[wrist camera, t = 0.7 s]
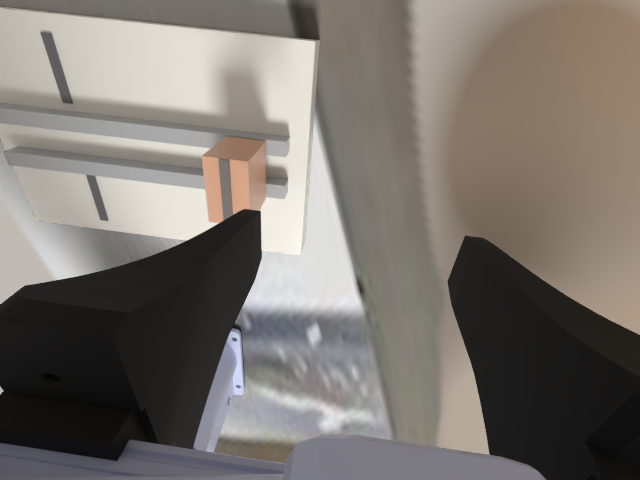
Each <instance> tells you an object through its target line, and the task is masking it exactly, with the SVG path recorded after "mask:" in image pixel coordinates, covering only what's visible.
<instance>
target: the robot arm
mask: <svg viewBox="0 0 640 480" xmlns="http://www.w3.org/2000/svg"><path fill="white" fill-rule="evenodd" d="M261 258H262V247H261V211H258V210H250V209H243V210H241V211H239V212H237V213H235V214H234V215H232V216H230V217H229V218H227V219H225V220H224V221H222V222H220V223H218V224H217V225H215V226H213V227H212V228H210V229H208V230H206V231H205V232H203V233H201V234H199V235H197V236H195V237H193V238H191V239H189V240H187V241H185V242H183V243H181V244H179V245H177V246H175V247H172V248H170V249H168V250H165V251H163V252H160V253H158V254H155V255H152V256H150V257H147V258H144V259H140V260H137V261H134V262H131V263H128V264H125V265H122V266H118V267H115V268H111V269H107V270H104V271H100V272H95V273H91V274H87V275H82V276H78V277H73V278H67V279H62V280H56V281H50V282H45V283H40V284H34V285H26V286H24V287H22V288H21V289H20V290H19V291H17V292H16V293H15V294H14V295H12V296H11V297H9V298H8V299H7V300H6V301H4V302H3V303H2V304H0V386H1V388H2V389H3V390H4V391H3V392H2V394H1V395H0V480H640V335H638V334H636V333H634V332H632V331H630V330H628V329H626V328H624V327H622V326H620V325H618V324H616V323H614V322H612V321H610V320H608V319H606V318H604V317H603V316H601V315H599V314H597V313H595V312H593V311H592V310H590V309H588V308H586V307H585V306H583V305H581V304H579V303H578V302H576V301H574V300H573V299H571V298H569V297H568V296H566V295H564V294H563V293H561V292H560V291H558V290H557V289H555V288H554V287H552V286H551V285H549V284H548V283H546V282H545V281H543V280H542V279H540V278H539V277H538V276H536V275H535V274H533V273H532V272H530V271H529V270H528V269H526V268H525V267H524V266H522V265H521V264H520V263H518V262H517V261H515V260H514V259H513V258H511V257H510V256H509V255H507V254H506V253H505V252H503V251H502V250H501V249H499V248H498V247H496V246H495V245H494V244H492V243H491V242H489V241H487V240H486V239H484V238H478V237H471V236H465V237H464V240H463V243H462V245H461V248H460V250H459V253H458V256H457V258H456V261H455V264H454V266H453V269H452V271H451V274H450V277H449V279H448V287H449V293H450V299H451V304H452V308H453V311H454V314H455V317H456V320H457V323H458V326H459V329H460V332H461V335H462V338H463V340H464V343H465V346H466V349H467V352H468V355H469V358H470V361H471V364H472V368H473V371H474V374H475V379H476V384H477V388H478V393H479V398H480V402H481V407H482V413H483V418H484V423H485V428H486V434H487V440H488V447H489V453H490V455H486V454H479V453H472V452H466V451H459V450H452V449H446V448H439V447H432V446H426V445H419V444H412V443H406V442H399V441H392V440H385V439H379V438H372V437H365V436H358V435H325V434H323V435H321V436H318V437H315V438H312V439H309V440H306V441H303V442H300V443H299V444H298V445H296V446H295V447H294V448H293V450H292V451H291V453H290V454H289V456H288V457H287V459H286V461H285V463H279V462H272V461H266V460H259V459H253V458H246V457H240V456H233V455H227V454H220V453H214V449H215V446H216V443H217V440H218V438H219V435H220V432H221V429H222V426H223V423H224V420H225V417H226V414H227V412H228V409H229V406H230V403H231V400H232V397H233V394H235V395H243V394H244V391H245V387H244V372H243V356H242V341H241V332H240V331H239V330H238V329H234V328H232V327H233V325H234V323H235V321H236V319H237V317H238V314H239V312H240V310H241V308H242V306H243V304H244V302H245V300H246V298H247V296H248V293H249V291H250V289H251V287H252V285H253V283H254V281H255V278H256V275H257V271H258V268H259V265H260V262H261Z"/></svg>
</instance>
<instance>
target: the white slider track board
mask: <svg viewBox="0 0 640 480" xmlns="http://www.w3.org/2000/svg"><path fill="white" fill-rule="evenodd" d="M319 45H320V40H313V39H304V38H294V37H285V36H275V35H266V34H256V33H247V32H237V31H228V30H218V29H209V28H199V27H190V26H180V25H171V24H161V23H152V22H142V21H133V20H123V19H114V18H104V17H94V16H85V15H75V14H66V13H56V12H47V11H37V10H28V9H18V8H9V7H0V139H1V142H2V144H3V146H4V149H5V151H3V152H4V154H5V156H6V159H7V161H8V163H9V165H12V167H13V169H14V171H15V173H16V176H17V178H18V180H19V182H20V185H21V187H22V189H23V191H24V194H25V196H26V198H27V200H28V203H29V205H30V207H31V209H32V212H33V214H34V216H35V218H36V221H41V222H49V223H57V224H64V225H72V226H80V227H87V228H95V229H103V230H110V231H118V232H125V233H133V234H141V235H148V236H156V237H164V238H171V239H179V240H189V239H191V238H193V237H195V236H197V235H199V234H201V233H203V232H205V231H206V230H208V229H210V228H212V227H213V226H215V225H217V224H218V223H215V222H209V218H208V210H207V201H206V192H205V183H204V174H203V165H202V157H201V156H202V155H203V154H205V153H206V152H207V151H208V150H210V149H211V148H212V147H213V146H215V145H216V144H217V143H218V142H220V141H221V140H222V139H223V138H225V137H233V138H242V139H250V140H259V141H265V169H266V200H265V202H264V203H263V205H262V207H261V209H260V211H261V247H262V250H263V251H271V252H278V253H286V254H293V255H301V253H302V249H303V245H304V242H305V234H306V221H307V207H308V194H309V180H310V167H311V153H312V140H313V126H314V112H315V99H316V85H317V72H318V58H319Z"/></svg>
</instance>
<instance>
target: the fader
mask: <svg viewBox="0 0 640 480" xmlns="http://www.w3.org/2000/svg"><path fill="white" fill-rule="evenodd" d="M201 157H202V165H203V174H204V183H205V192H206V201H207V210H208V218H209V222H215V223H220V222H222V221H224V220H225V219H227V218H229V217H230V216H232V215H234V214H235V213H237V212H239V211H241V210H243V209H250V210H258V211H260V209H261V207H262V205H263V203H264V202H265V200H266V169H265V141H259V140H250V139H242V138H233V137H225V138H223V139H222V140H221V141H220V142H218V143H217V144H216V145H215V146H213V147H212V148H211V149H210V150H208V151H207V152H206V153H205V154H203V155H202V156H201Z"/></svg>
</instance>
